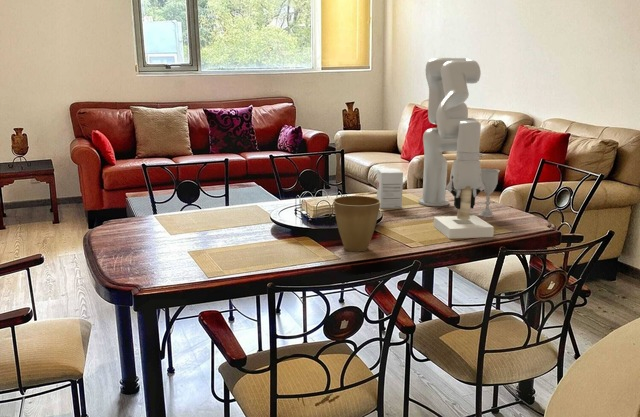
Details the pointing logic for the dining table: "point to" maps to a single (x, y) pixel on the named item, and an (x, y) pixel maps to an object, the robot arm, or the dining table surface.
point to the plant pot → (356, 220)
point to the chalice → (489, 187)
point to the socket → (463, 227)
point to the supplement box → (390, 188)
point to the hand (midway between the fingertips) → (464, 207)
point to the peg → (465, 203)
